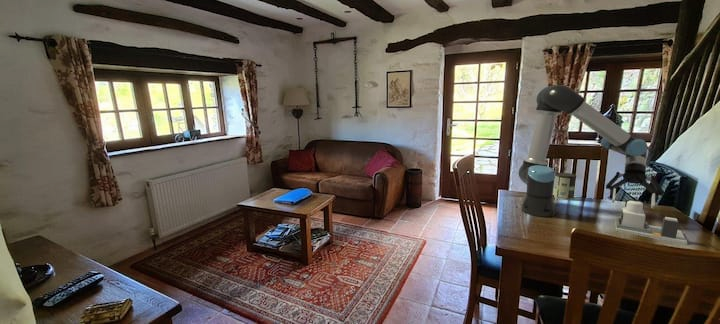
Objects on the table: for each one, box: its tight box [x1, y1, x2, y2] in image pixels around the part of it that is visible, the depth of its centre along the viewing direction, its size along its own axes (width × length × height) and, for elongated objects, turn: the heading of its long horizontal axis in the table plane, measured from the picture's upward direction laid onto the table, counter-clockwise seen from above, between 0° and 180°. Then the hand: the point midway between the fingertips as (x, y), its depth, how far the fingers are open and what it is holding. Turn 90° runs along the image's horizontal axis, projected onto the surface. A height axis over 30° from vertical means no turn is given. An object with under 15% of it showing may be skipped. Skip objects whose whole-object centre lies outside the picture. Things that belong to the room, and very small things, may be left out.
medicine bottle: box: [620, 198, 646, 229], centre depth 129 cm, size 7×7×12 cm
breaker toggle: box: [661, 216, 680, 239], centre depth 120 cm, size 4×3×8 cm
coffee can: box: [553, 172, 577, 201], centre depth 175 cm, size 10×10×14 cm
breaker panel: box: [614, 216, 688, 245], centre depth 127 cm, size 21×13×3 cm, turn 51°
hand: (632, 204), depth 137 cm, fingers open, 13 cm apart
